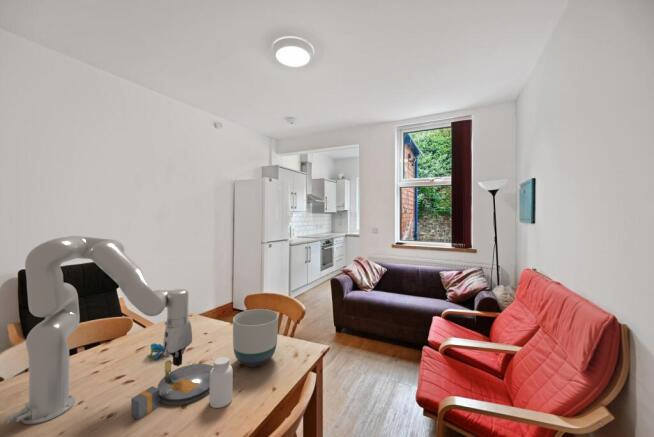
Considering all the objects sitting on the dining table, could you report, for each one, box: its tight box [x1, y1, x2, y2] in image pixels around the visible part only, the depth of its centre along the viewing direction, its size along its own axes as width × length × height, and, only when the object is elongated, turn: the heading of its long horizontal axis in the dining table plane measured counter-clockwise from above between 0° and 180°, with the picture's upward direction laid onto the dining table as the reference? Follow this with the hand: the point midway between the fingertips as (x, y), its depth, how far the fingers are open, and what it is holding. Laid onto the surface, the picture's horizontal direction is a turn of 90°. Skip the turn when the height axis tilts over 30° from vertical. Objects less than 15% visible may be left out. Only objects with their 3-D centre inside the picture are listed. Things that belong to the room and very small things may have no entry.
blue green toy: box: [148, 343, 165, 360], centre depth 125 cm, size 11×6×10 cm
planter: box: [232, 308, 279, 368], centre depth 122 cm, size 20×20×21 cm
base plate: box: [159, 389, 210, 407], centre depth 104 cm, size 22×22×1 cm
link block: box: [130, 386, 160, 421], centre depth 91 cm, size 7×4×6 cm, turn 157°
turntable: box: [157, 359, 214, 401], centre depth 104 cm, size 21×21×9 cm
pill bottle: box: [208, 356, 234, 409], centre depth 96 cm, size 8×8×15 cm
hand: (177, 364), depth 107 cm, fingers closed
